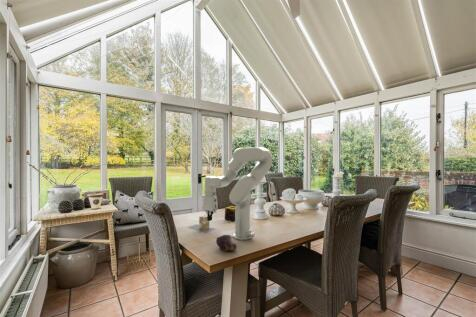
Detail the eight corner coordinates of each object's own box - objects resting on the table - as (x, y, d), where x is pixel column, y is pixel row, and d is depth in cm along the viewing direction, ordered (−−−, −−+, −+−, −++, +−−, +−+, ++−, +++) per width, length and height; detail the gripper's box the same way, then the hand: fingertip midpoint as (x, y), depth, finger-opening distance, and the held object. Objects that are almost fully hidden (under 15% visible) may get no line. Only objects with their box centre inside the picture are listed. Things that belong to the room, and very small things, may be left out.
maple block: (209, 228, 158) (209, 216, 158) (204, 230, 154) (204, 217, 154) (204, 227, 161) (204, 215, 161) (199, 229, 157) (199, 216, 157)
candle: (233, 221, 178) (233, 209, 178) (224, 219, 185) (224, 207, 185) (241, 219, 187) (241, 207, 187) (232, 217, 193) (232, 205, 193)
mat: (215, 229, 158) (215, 228, 158) (206, 233, 150) (206, 232, 150) (196, 224, 169) (196, 224, 169) (186, 228, 161) (186, 227, 161)
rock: (228, 247, 130) (212, 250, 124) (227, 231, 131) (212, 234, 126) (239, 251, 120) (222, 254, 115) (238, 234, 121) (221, 237, 116)
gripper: (222, 194, 153) (221, 221, 153) (206, 192, 162) (205, 217, 162) (214, 195, 147) (214, 223, 147) (198, 193, 156) (198, 219, 156)
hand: (209, 220), depth 155 cm, fingers closed
